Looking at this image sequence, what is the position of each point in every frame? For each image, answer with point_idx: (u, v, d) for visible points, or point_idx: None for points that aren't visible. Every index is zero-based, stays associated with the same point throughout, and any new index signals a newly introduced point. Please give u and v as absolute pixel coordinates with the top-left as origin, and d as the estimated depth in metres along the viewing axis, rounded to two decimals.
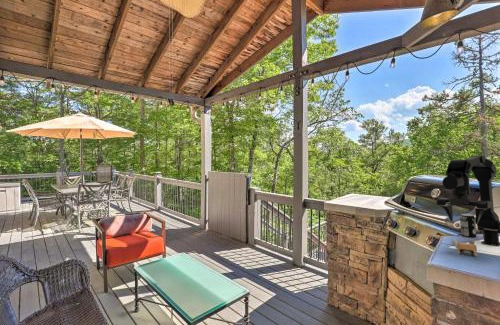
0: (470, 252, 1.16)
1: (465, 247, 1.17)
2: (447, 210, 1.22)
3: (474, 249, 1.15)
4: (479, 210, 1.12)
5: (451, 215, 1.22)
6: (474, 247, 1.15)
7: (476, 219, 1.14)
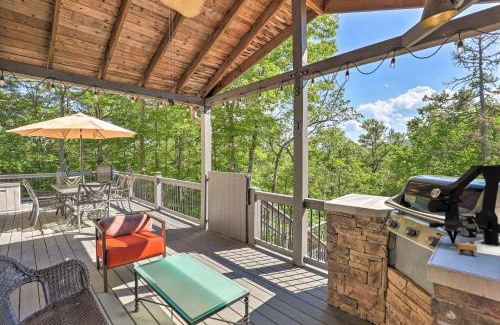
0: (470, 252, 1.16)
1: (465, 247, 1.17)
2: (450, 234, 1.31)
3: (474, 249, 1.15)
4: (457, 232, 1.28)
5: None
6: (474, 247, 1.15)
7: (453, 240, 1.30)
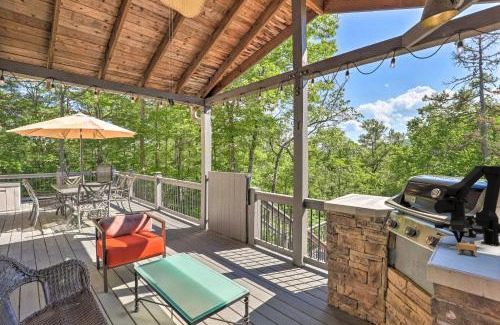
0: (470, 252, 1.16)
1: (465, 247, 1.17)
2: (456, 234, 1.29)
3: (474, 249, 1.15)
4: (463, 233, 1.27)
5: None
6: (474, 247, 1.15)
7: (459, 240, 1.29)
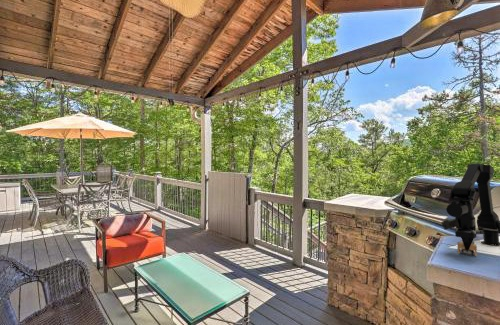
0: (470, 252, 1.16)
1: None
2: None
3: (474, 249, 1.15)
4: None
5: None
6: (474, 247, 1.15)
7: None
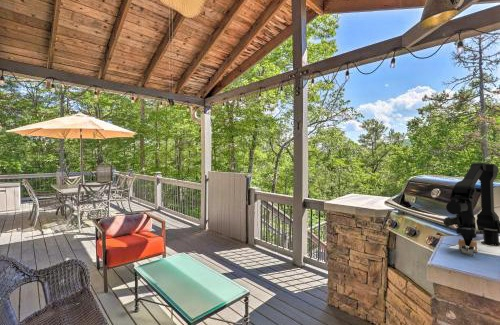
0: (470, 252, 1.16)
1: None
2: None
3: (474, 245, 1.20)
4: None
5: None
6: (474, 243, 1.20)
7: None
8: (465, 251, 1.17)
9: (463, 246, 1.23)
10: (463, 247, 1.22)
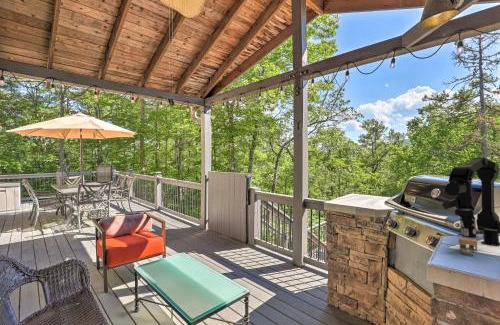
0: (470, 252, 1.16)
1: (466, 242, 1.24)
2: None
3: (474, 244, 1.22)
4: (458, 214, 1.21)
5: None
6: (474, 242, 1.22)
7: (463, 223, 1.21)
8: (465, 251, 1.17)
9: (463, 246, 1.23)
10: (463, 247, 1.22)
